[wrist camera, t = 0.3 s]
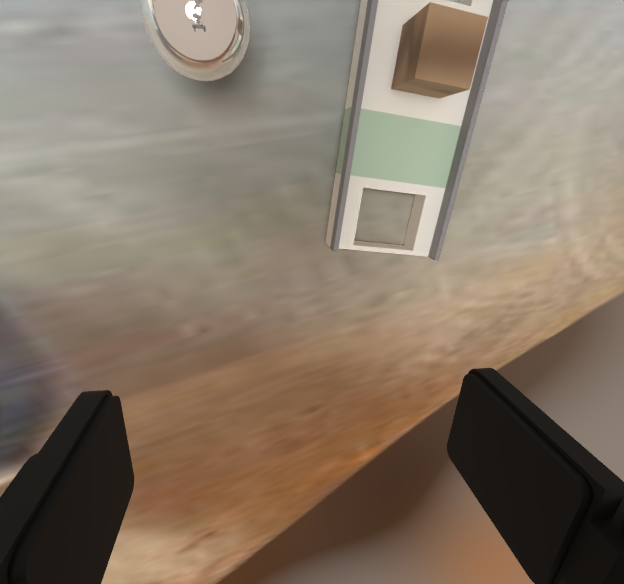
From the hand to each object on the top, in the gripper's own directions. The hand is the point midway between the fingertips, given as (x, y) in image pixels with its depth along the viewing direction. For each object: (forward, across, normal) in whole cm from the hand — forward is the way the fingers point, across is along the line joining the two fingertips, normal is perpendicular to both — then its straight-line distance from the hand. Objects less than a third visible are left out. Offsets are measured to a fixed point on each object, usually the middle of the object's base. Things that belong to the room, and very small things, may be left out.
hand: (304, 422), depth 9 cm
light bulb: (+31, +5, -15) cm, 34 cm away
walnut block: (+28, -14, -15) cm, 35 cm away
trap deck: (+30, -14, -12) cm, 36 cm away
